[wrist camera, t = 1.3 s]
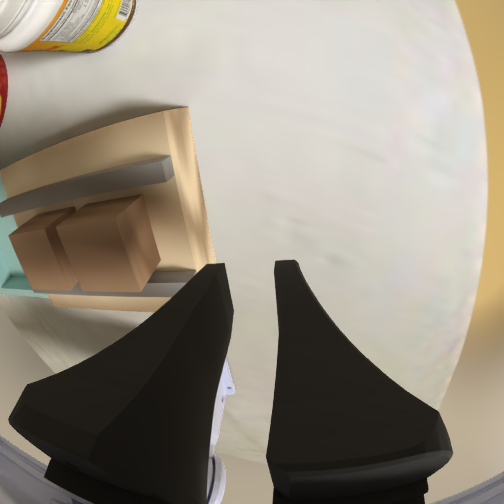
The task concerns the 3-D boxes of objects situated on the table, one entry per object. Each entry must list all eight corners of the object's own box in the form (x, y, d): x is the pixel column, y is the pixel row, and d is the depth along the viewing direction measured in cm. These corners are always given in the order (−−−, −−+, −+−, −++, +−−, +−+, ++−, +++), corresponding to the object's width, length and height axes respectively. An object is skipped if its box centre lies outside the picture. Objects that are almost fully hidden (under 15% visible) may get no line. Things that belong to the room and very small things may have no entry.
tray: (74, 279, 23) (57, 298, 20) (15, 278, 24) (1, 293, 22) (32, 155, 17) (7, 166, 14) (-21, 182, 19) (-40, 193, 16)
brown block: (161, 260, 16) (141, 292, 13) (106, 262, 17) (82, 291, 14) (142, 194, 14) (115, 218, 11) (86, 203, 15) (55, 226, 12)
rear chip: (94, 263, 17) (70, 290, 14) (56, 264, 17) (32, 289, 15) (74, 206, 15) (44, 228, 12) (36, 214, 15) (8, 235, 13)
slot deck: (218, 276, 21) (203, 326, 17) (76, 278, 23) (46, 315, 19) (188, 106, 15) (153, 112, 11) (33, 154, 17) (-12, 175, 13)
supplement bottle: (62, 27, 12) (-49, 26, 3) (116, -29, 10) (15, -70, 1) (97, 69, 14) (-28, 80, 5) (157, 9, 12) (50, -40, 3)
